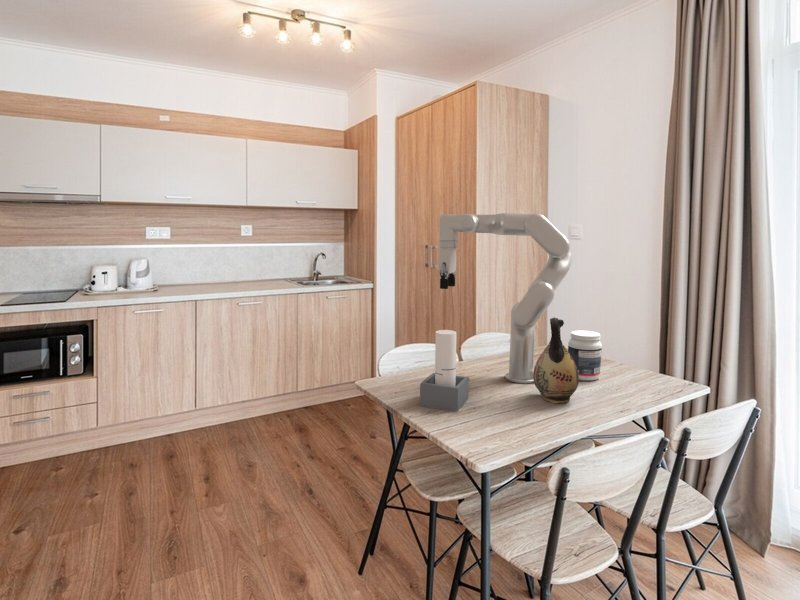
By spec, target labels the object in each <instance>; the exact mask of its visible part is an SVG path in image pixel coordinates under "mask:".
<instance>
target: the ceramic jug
mask: <svg viewBox="0 0 800 600" xmlns="http://www.w3.org/2000/svg"><path fill="white" fill-rule="evenodd" d="M549 324H550V330H551V331H550V333H551V337H550V340H549V342H548V344H547V345H546V347H545V348H544V350H543V351H542V352H541V354H540V355H539V357H538V358H537V360H536V362H535V365H534V367H535V368H534V374H533V380H534V382H533V384H534V386H535V388H536V389H537V390H538V392H539V393H540V394H541V396H542V398H543V400H544V401H546V402H549V403H552V404H558V403H559V404H561V403H562V404H563V403H567V402H570V400H571V396H573V394H574V393H576V391H577V389H578V387H579V384H580V383H579V382H580V380H579V376H578V370H577V367H576V364H575V362H574V360H573V358H572V357H571V355H570V354H569V352H568V348H566V347H565V345H564V344H563V342H562V339H561V328H562V327H563V326H564V325H565V322H564V319H559V318H557V317H552V318H549Z"/></svg>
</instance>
